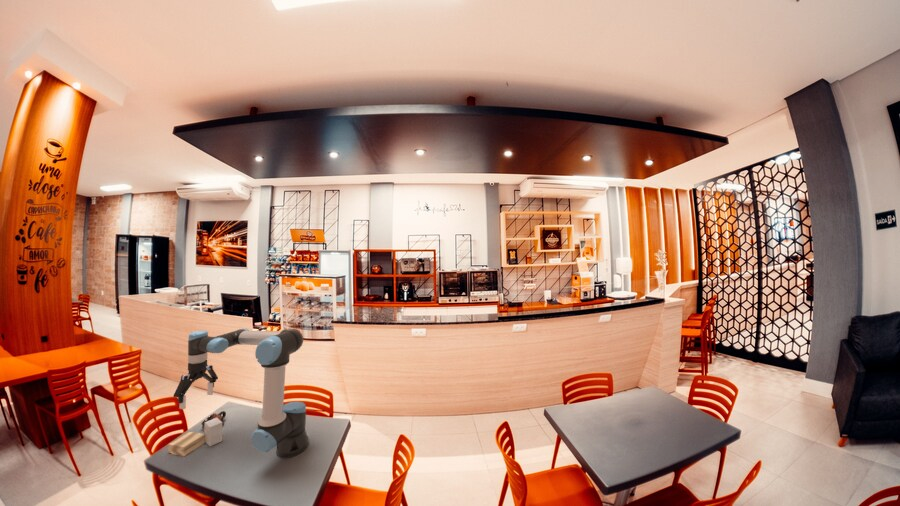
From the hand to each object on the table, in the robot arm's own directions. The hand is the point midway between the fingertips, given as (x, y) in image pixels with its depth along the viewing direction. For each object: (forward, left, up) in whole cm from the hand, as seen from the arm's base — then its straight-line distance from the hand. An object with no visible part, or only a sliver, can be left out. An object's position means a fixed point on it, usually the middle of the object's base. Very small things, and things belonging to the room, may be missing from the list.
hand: (196, 401), depth 145 cm
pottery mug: (+9, -17, -25) cm, 32 cm away
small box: (-3, -6, -25) cm, 26 cm away
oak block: (+5, +1, -25) cm, 26 cm away
